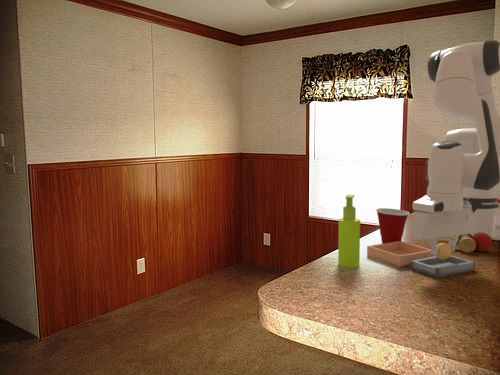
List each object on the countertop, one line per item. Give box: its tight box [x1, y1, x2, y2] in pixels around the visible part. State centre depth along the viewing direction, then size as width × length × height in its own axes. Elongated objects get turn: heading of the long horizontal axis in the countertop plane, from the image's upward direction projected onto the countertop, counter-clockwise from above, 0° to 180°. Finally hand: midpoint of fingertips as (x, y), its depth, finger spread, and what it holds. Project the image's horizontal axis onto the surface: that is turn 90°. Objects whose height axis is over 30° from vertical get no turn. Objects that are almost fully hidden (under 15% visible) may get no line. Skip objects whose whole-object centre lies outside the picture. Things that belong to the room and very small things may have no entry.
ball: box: [435, 243, 453, 259], centre depth 116 cm, size 4×4×4 cm
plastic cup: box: [375, 207, 411, 244], centre depth 144 cm, size 11×11×12 cm
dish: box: [366, 240, 435, 268], centre depth 128 cm, size 13×13×3 cm
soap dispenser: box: [337, 194, 361, 269], centre depth 122 cm, size 6×7×20 cm
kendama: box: [429, 232, 493, 253], centre depth 138 cm, size 8×6×18 cm
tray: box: [410, 255, 476, 279], centre depth 117 cm, size 14×9×2 cm, turn 116°
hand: (442, 252), depth 117 cm, fingers closed on ball, 4 cm apart
